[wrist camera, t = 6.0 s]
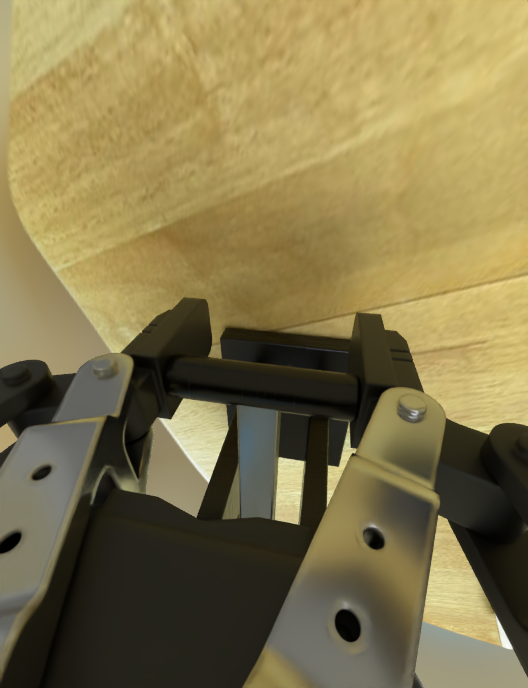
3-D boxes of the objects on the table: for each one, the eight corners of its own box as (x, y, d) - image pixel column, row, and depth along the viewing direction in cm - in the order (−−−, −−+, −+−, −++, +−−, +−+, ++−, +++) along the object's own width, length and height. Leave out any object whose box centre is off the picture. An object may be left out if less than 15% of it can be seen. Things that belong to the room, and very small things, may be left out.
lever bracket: (225, 327, 18) (105, 534, 9) (363, 340, 17) (398, 599, 8) (234, 436, 24) (167, 636, 14) (338, 453, 23) (341, 684, 13)
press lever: (188, 336, 9) (147, 381, 7) (357, 354, 9) (365, 410, 6) (210, 543, 15) (190, 604, 12) (317, 566, 14) (314, 635, 12)
